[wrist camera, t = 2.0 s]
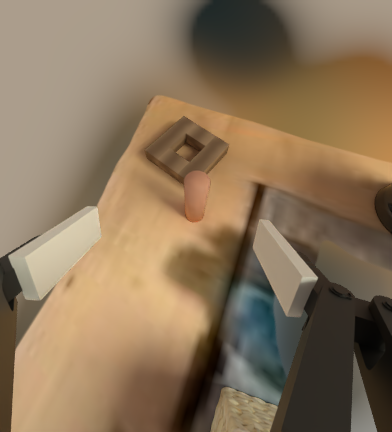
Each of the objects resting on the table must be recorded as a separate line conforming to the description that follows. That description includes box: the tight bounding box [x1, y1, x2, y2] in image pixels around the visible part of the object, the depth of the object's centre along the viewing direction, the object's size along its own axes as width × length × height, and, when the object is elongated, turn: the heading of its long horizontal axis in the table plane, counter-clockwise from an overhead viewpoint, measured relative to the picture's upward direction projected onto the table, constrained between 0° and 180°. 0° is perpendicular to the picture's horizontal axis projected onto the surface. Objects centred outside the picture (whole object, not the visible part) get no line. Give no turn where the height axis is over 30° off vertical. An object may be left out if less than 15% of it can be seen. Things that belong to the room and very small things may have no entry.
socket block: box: [145, 116, 229, 185], centre depth 44 cm, size 14×14×3 cm
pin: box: [184, 171, 210, 222], centre depth 34 cm, size 4×4×13 cm
